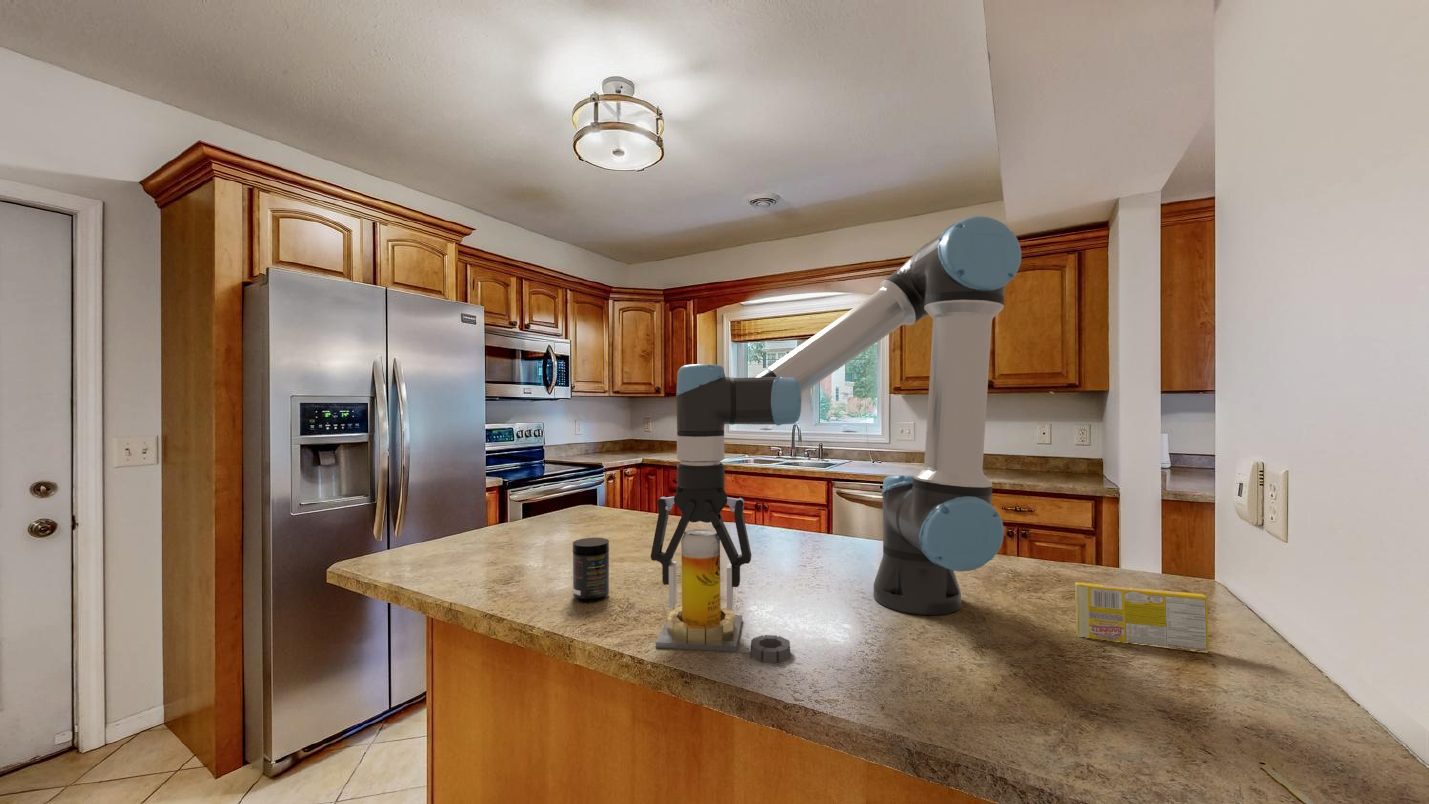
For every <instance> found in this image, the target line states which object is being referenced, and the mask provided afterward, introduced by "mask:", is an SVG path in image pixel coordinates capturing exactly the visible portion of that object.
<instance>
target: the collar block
mask: <svg viewBox="0 0 1429 804" xmlns="http://www.w3.org/2000/svg"><path fill="white" fill-rule="evenodd" d="M666 619H667V620H666V622H665V624H664V626H663V628H662V630H661V632H660V633H659V635H658V637H657V639H656V641H655V648H658V649H671V650H672V649H673V650H674V649H675V650H695V651H714V652H732V653H733V652H735V653H736V652H737V649H738V643H739V639H740V634H741V633H740V632H741V627H742V623H743V615H742V614H741V615H739V614H736V613H735V612H734V611H732V610H727V606H722V605H721V621H720V622H718V623H714V624H708V625H691V624H688V623H684V622H682V605H681V606H678V607H676V608H674V609H672V610H671V611H670V612H669V613H668V616H667V617H666Z"/></svg>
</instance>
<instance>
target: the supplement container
mask: <svg viewBox="0 0 1429 804" xmlns="http://www.w3.org/2000/svg"><path fill="white" fill-rule="evenodd" d="M571 551H572V597H573V599H574V600H575V601H577V602H580V603H588V604H589V603H590V604H591V603H597V602H601V601H604V600H605V599H607V598H608V597H609V594H610V540H609V539H608V538H606V537H605V538H604V537H585V538H579V539H576V540H574V541H572V550H571Z"/></svg>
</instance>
